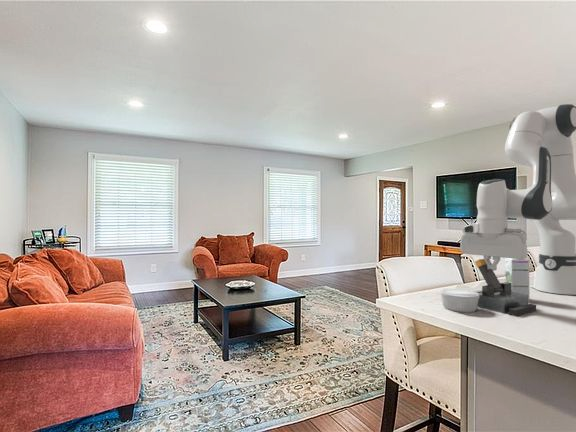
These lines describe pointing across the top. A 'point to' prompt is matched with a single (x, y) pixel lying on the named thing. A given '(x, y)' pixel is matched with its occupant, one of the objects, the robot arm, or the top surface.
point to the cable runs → (522, 310)
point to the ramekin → (460, 300)
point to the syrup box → (518, 275)
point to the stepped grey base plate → (500, 298)
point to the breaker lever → (489, 275)
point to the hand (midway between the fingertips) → (491, 270)
